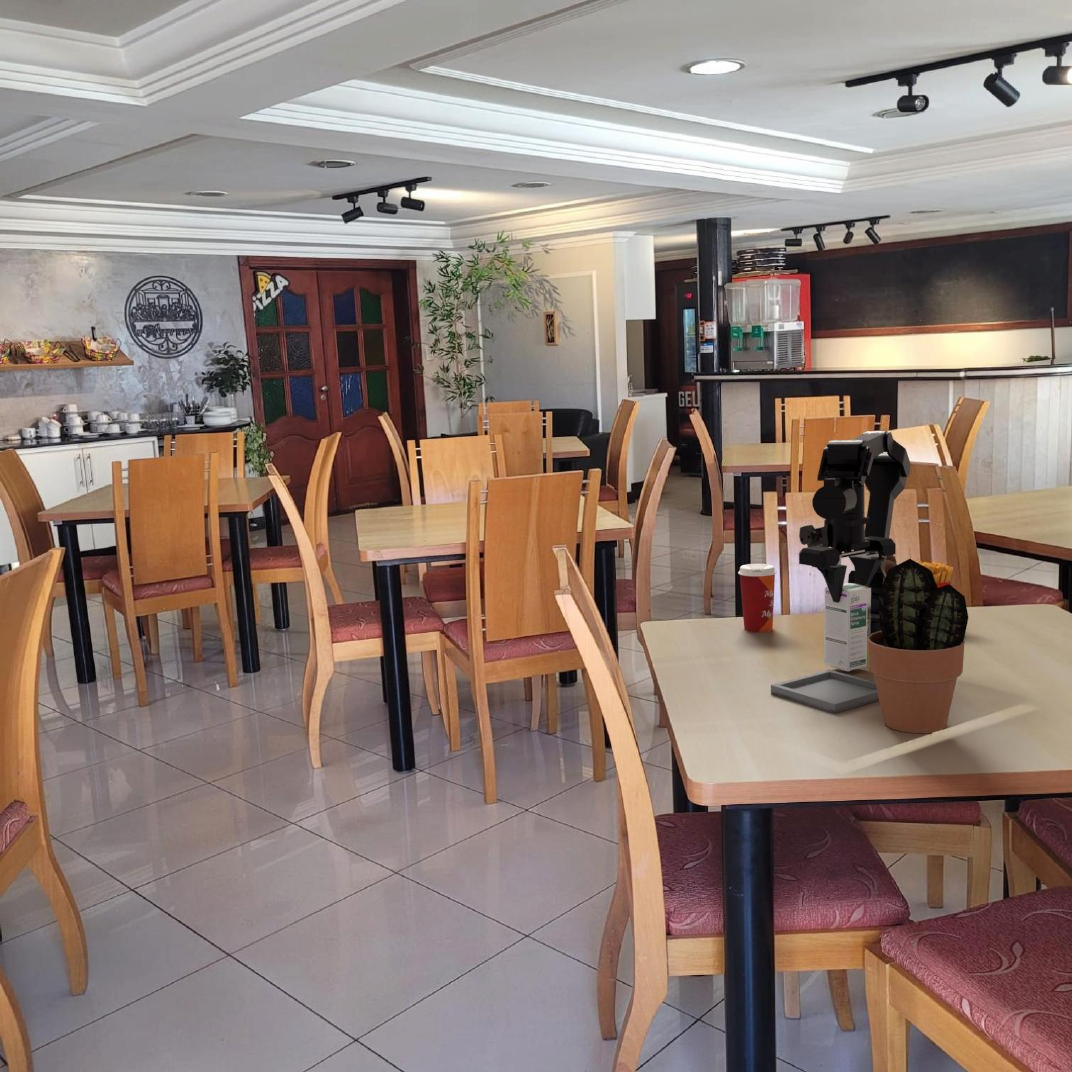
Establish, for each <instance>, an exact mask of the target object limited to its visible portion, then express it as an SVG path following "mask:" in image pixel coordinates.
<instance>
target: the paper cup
mask: <svg viewBox="0 0 1072 1072" xmlns="http://www.w3.org/2000/svg"><path fill="white" fill-rule="evenodd" d="M775 569H776V568H775V566H774V565H772V564H768V563H748V564H743V565H741V566H740V567H739V571H738V572H737V573H738V575H739V579H740V592H741V603H742V604H741V605H742V618H743V619H742V620H743V628H744V630H745V631H747V632H750V633H767V632H768V633H769V632H771V631H773V628H774V627H773V626H774V624H773V623H774V604H775V582H776V580H775V578H776V574H777V571H776V570H775Z"/></svg>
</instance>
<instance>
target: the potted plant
mask: <svg viewBox="0 0 1072 1072" xmlns="http://www.w3.org/2000/svg"><path fill="white" fill-rule="evenodd" d="M915 561H916V560H913V559H911V558H908V559H906V560H905V561H903V562H900V563H899V564H897V565H896V566H895V567H893V568H891V569H889V570H888V572H887V575H886V578H885V580H884V583H883V586H882V588H881V591H880V594H879V614H880V628H881V630H882V631H878V632H875V633H872V634H870V635H869V636H868V637H867V649H868V670H869V672H871V673H872V674H873V677H874V682H876V687H877V691H878V696H879V701H878V702H879V705H880V710H881V715H882V719H883V723H884V725H885V726H887V727H888V728H889V729H892V730H894V731H898V732H902V733H906V734H907V733H910V734H931V733H932V734H933V733H936V732H941V730H942V731H943V730H944V729H945V728H946V726H947V724H948V721H949V715H950V710H951V706H952V702H953V698H954V693H955V688H956V685H957V680H958V678H959V677H960V676H961V675H962V674H963V670H964V658H965V657H964V654H965V644H966V643H965V637H966V631H967V626H968V622H969V614H968V608H967V607H968V606H967V603H966V602H967V601H966V596H965V595H964V594H963V593H961V592H960V591H959V590H957V589H956V588H955V587H954V586H953V585H951V584H947V585H945V586H942V587H939V588H938V587H937V584H936V582H935V579H934V576H933V574H932V571H931V570H929V569H928V568H926V567H924V566H923V565H921V564H919V563H917V562H915Z"/></svg>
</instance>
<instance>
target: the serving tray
mask: <svg viewBox="0 0 1072 1072" xmlns="http://www.w3.org/2000/svg"><path fill="white" fill-rule="evenodd" d="M770 695H774V696H777V697H780V698H784V699H786V700H790V701H794V702H797V703H800V704H803V705H807V706H810V707H813V708H816V709H820V710H823V711H826V712H828V713H832V714H838V713H841V712H845V711H848V710H852V709H855V708H858V707H861V706H866V705H868V704H871V703H874V702H880V701H879V696H878V691H877V687H876V682H875V680H870V679H868V678H867V679H866V678H863V677H859V676H856V675H855V676H854V675H851V674H849V673H848V674H847V673H843V672H841V671H836V670H833V669H827V670H823V671H819V672H815V673H811V674H807V675H804V676H800V677H795V678H792V679H788V680H784V681H780V682H777V683H773V684H770Z"/></svg>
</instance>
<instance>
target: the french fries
mask: <svg viewBox="0 0 1072 1072" xmlns="http://www.w3.org/2000/svg"><path fill="white" fill-rule="evenodd" d="M914 561H915V562H917V563H919V564H921V565H923V566H924V567H926V568H928V569H929V570H931V571H932V574H933V576H934V579H935V582H936V584H937V587H938V588H939V587H942V586H945V585H947V584H950V585H951V584H952V581H951V580H950V579H951V576H952V574H953V572H954V567H953V566H950V565H947V564H946V563H944V562H942V563H941V562H936V561H934V560H933V561H932V562H931V563H930V562H928V561H927V562H926V561H922V560H917V561H916V560H914Z"/></svg>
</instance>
